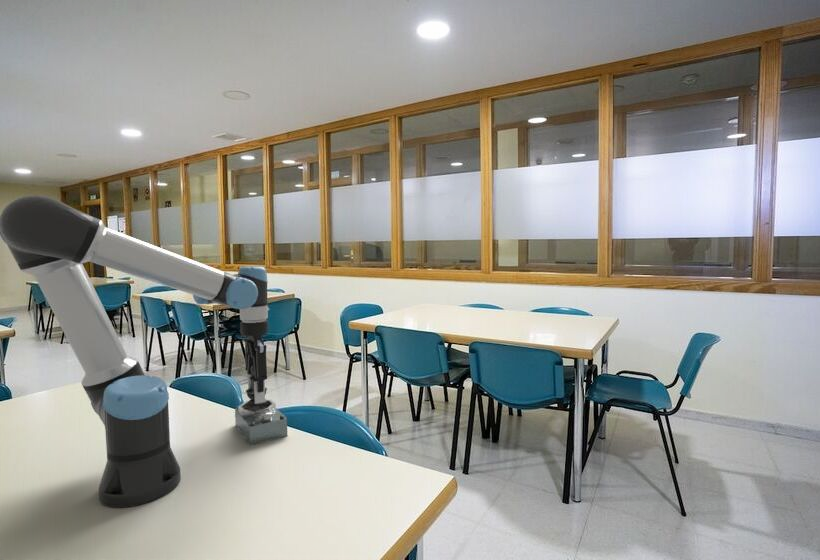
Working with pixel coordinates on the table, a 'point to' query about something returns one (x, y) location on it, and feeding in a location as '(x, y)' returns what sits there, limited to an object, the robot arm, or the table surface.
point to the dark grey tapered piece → (251, 390)
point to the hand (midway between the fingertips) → (256, 399)
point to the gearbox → (260, 422)
